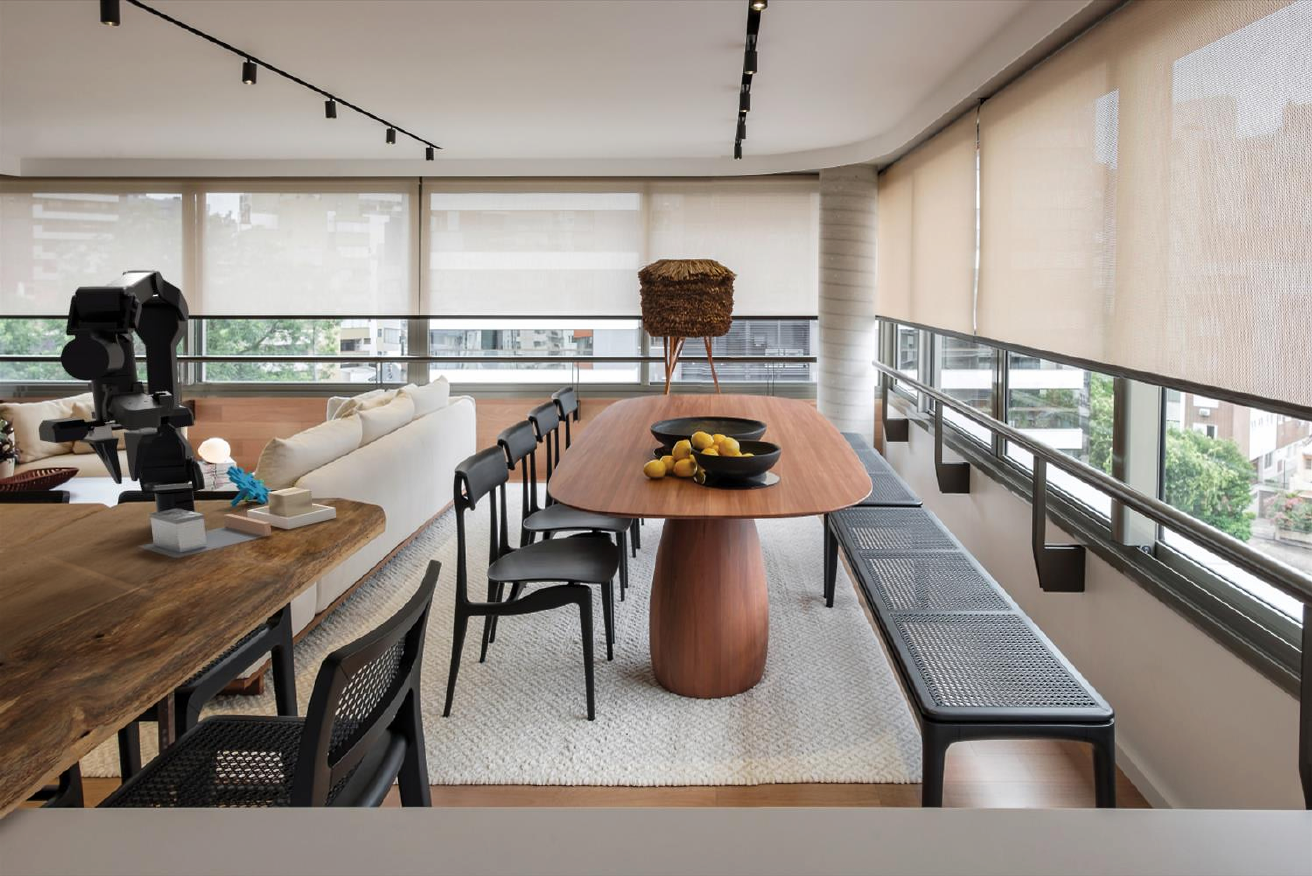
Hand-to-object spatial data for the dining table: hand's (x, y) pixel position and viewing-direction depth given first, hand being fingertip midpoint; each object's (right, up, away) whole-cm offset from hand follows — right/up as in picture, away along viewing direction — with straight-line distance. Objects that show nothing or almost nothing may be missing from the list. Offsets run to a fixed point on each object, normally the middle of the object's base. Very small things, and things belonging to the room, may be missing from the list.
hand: (126, 482), depth 129 cm
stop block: (+15, -8, +23) cm, 28 cm away
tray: (+15, -8, +23) cm, 29 cm away
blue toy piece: (+1, -6, +39) cm, 40 cm away
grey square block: (+4, -11, +7) cm, 14 cm away
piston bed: (+6, -10, +10) cm, 16 cm away
